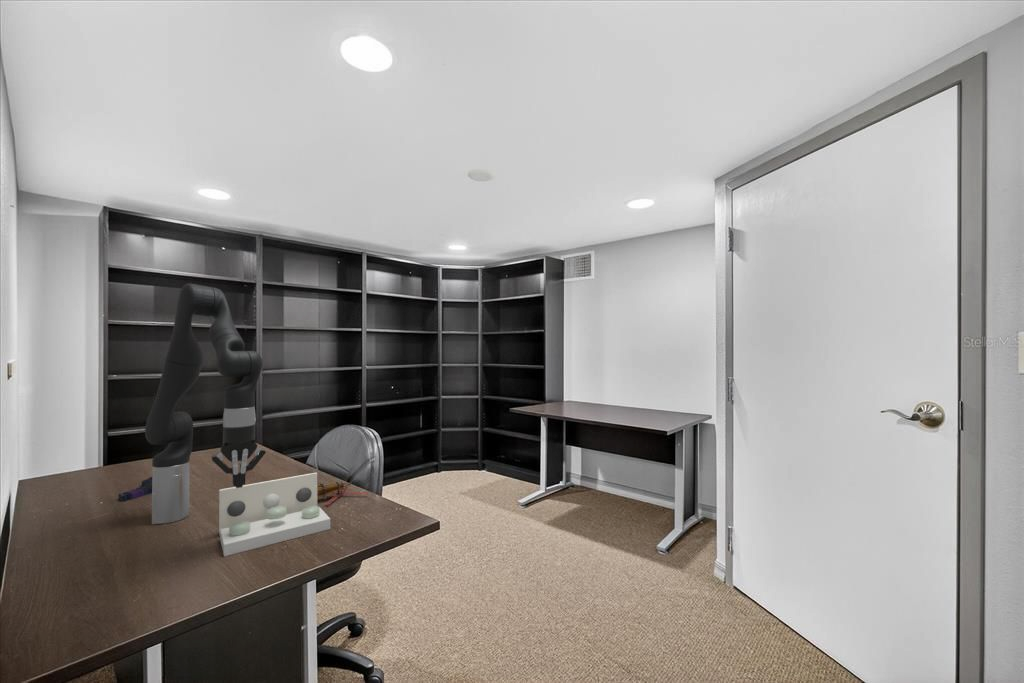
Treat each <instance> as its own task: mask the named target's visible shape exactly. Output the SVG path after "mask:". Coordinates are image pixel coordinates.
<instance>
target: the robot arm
mask: <svg viewBox="0 0 1024 683" xmlns="http://www.w3.org/2000/svg"><path fill="white" fill-rule="evenodd" d="M193 316H202V317H212V318H214V319H215V320H214V321H213V322H212V324H211V325H210V327H209V328H208V329H209V330H208V336H209V341H210V342H211V344H212V346H213V348H214V349H215V353H216V368H217V371H218V373H219V374H220V375H221V376H223V377H226V378H234V377H235V378H237V377H243V379H242V380H241V381H240V382H239V383H238V384H234V385H230V386H227V387H226V388H225V389H224V406H223V407H224V408H223V416H222V445H221V447H220V451H219V452H217V453H216V454H213V455H212V456H211V461H212V462H213V463H214V464H215V465H217V466H218V467H219V469H221V470H222V471H223V472H224V473H225V474H226V475H228V474H230V475H232V486H233V487H236V488H240V487H243V485H246V475H247V474H246V473H248V472H249V471H252V470H253V469H254V468H255V467H256V466H257V465H258V464H259V463H260V461H261V459H262V458H263V457H264V456H265V454H267V453H266V452H267V451H265V449H264V448H260V447H259V446H258V444H257V442H256V422H257V419H256V417H257V416H256V409H255V406H256V405H255V400H256V399H255V398H256V388H257V385H258V381H259V379H260V375H261V372H262V370H263V358H262V355H261V354H260V353H258V352H257V351H255V350H254V351H253V350H245V347H246V346H245V344H246V343H245V342H244V340H243V338H242V336H241V334H240V333H239V332H238V330H237V328H236V326H235V324H234V321H233V318H232V313H231V310H230V307H229V303H228V301H227V297H226V296H225V294H224V292H223V291H222V290H221V289H219V288H217V287H213V286H206V285H200V284H195V283H185V284H184V285H183V286H182V287H181V288H180V291H179V294H178V298H177V304H176V310H175V317H174V321H173V322H174V323H173V330H172V333H171V338H170V342H169V345H168V349H167V352H166V356H165V359H164V363H163V368H162V372H161V377H160V382H159V385H158V389H157V392H156V395H155V399H154V401H153V404H152V407H151V409H150V412H149V415H148V417H147V419H146V424H145V429H144V436H145V439H146V442H148V443H149V444H150V445H157V446H158V445H165V444H168V445H167V447H166V448H165V449H164V450H162V451H161V452H159V453H157V454H155V455H154V456H153V458H152V461H151V462H152V465H151V466H152V467H151V469H152V470H151V471H152V473H151V474H152V476H151V477H152V493H151V525H157V524H158V525H159V524H160V525H161V524H167V523H168V524H169V523H174V522H178V521H180V520H184V519H186V518H187V517H189V516H190V508H191V507H190V499H191V498H190V495H191V494H190V486H191V485H190V466H191V465H190V457H191V454H192V451H193V438H194V421H193V419H192V416H191V415H190V414H189V413H188V412H186V411H176V412H175V408H176V406H177V404H178V402H179V401H180V399H181V398H182V397H183V396H184V395H185V394H186V393H187V392H188V391H189V390H190V389H191V388H192V386H193V385H194V384H195V383H196V382H197V381H198V379H199V377H200V373H201V370H202V366H203V362H204V354H203V351H202V348H201V346H200V344H199V342H198V341H197V339H196V337H195V334H194V331H193V328H192V327H193V326H192V325H193V324H192V322H193V320H192V319H193ZM253 454H254V457H253V458H252V459H251V461H250V462H249V463H248V460H249V459H250V458H251V457H252V455H253ZM224 457H225V458H226V459H227V460H228V461H229V462H230V463H231V467H229V466H228V465H227V464H226V463H225V462H224V461H223V460H224ZM239 464H240V465H239Z"/></svg>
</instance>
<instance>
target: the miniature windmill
mask: <svg viewBox="0 0 1024 683" xmlns="http://www.w3.org/2000/svg"><path fill="white" fill-rule="evenodd" d="M351 485H352V483H351V482H343V481H337V480H336V481H335V483H326V484H324V482H320V483H319V485H318V484H317V500H318V499H321V498H323V499H325V500H326V499H327V497H328V496H329V495H335V496H333V497H332V498H331V499H330V500H328V501H327V502H325V503H324V504H323V505H324V506H325V505H326V506H329V505H330V504H331V503H332V502H334V501H336V500H337V499H338V498H341V497H343V495H368V494H369V492H367V491H366V492H360V491H359V492H356V491H355V492H354V491H353V492H345V490H346V488H347V487H349V486H351Z"/></svg>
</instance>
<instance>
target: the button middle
mask: <svg viewBox="0 0 1024 683" xmlns="http://www.w3.org/2000/svg"><path fill="white" fill-rule="evenodd" d="M285 516H286V507H285V506H277V507H273V508H270V509H268V510H267V519H270V520H274V519H280V518H283V517H285Z"/></svg>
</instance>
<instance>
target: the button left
mask: <svg viewBox="0 0 1024 683" xmlns="http://www.w3.org/2000/svg"><path fill="white" fill-rule="evenodd" d="M249 531H250V522H248V521H242V522H237V523H234V524H232V525H230V526H229V535H230V536H239V535H243V534H246V533H248V532H249Z"/></svg>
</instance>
